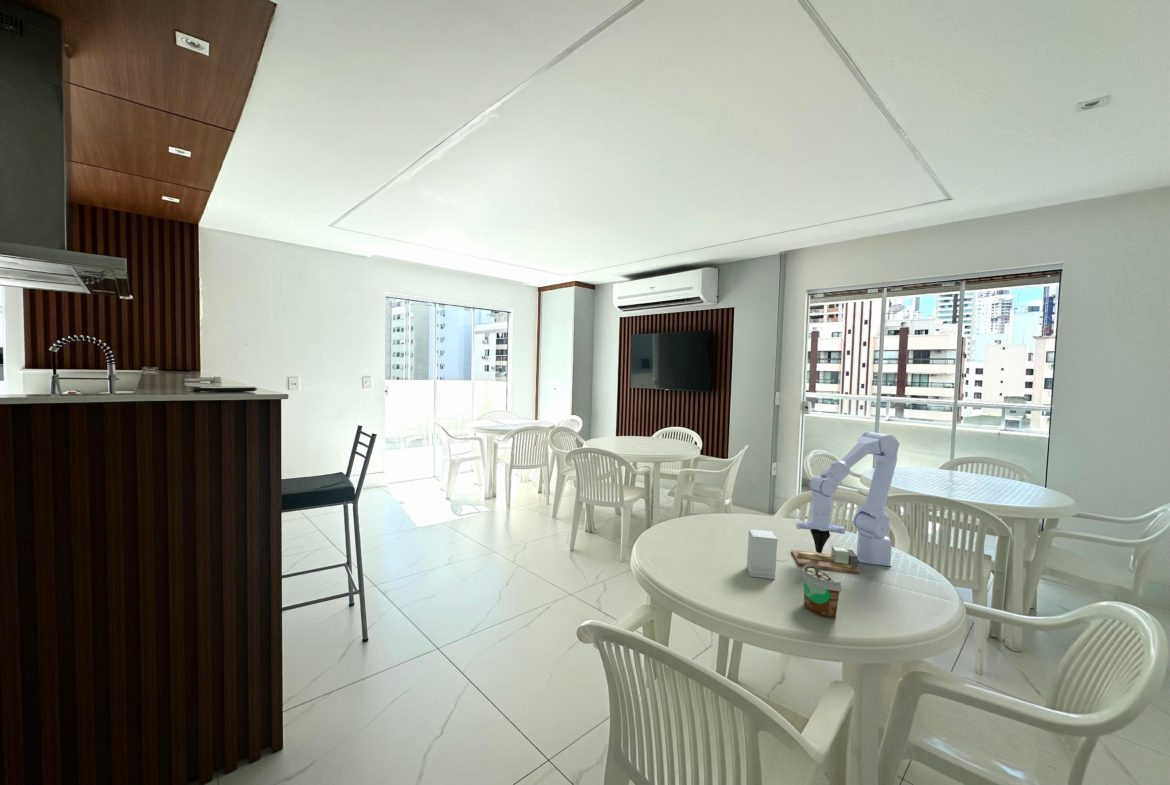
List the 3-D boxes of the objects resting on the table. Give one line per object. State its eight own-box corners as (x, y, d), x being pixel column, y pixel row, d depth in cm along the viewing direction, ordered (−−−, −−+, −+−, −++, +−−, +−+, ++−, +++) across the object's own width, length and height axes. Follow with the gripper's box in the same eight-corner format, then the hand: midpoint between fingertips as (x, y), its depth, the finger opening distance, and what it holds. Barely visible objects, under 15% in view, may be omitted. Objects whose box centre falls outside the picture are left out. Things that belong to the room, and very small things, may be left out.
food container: (790, 597, 125) (792, 562, 125) (810, 597, 126) (813, 562, 125) (816, 622, 113) (818, 583, 113) (839, 621, 114) (841, 583, 113)
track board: (847, 559, 154) (848, 546, 154) (859, 574, 143) (860, 560, 142) (791, 552, 159) (792, 539, 158) (798, 566, 147) (799, 552, 147)
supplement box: (775, 579, 136) (777, 539, 136) (750, 576, 138) (752, 536, 137) (770, 569, 144) (772, 530, 143) (746, 566, 145) (748, 528, 144)
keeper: (844, 558, 151) (844, 547, 151) (848, 564, 147) (849, 552, 147) (831, 557, 152) (831, 545, 152) (834, 562, 148) (835, 550, 148)
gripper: (800, 513, 148) (797, 553, 149) (848, 518, 145) (846, 559, 145) (795, 507, 155) (793, 545, 156) (842, 511, 152) (839, 551, 152)
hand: (818, 551), depth 151 cm, fingers closed
